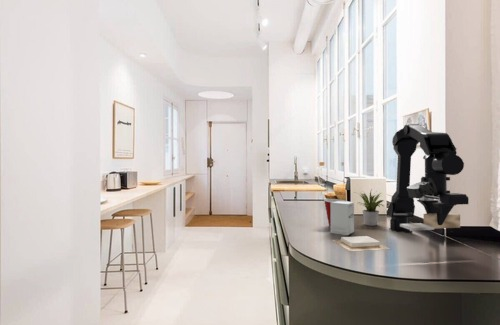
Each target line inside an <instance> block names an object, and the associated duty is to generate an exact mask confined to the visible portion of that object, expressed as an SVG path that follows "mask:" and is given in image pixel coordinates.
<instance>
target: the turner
mask: <svg viewBox="0 0 500 325" xmlns="http://www.w3.org/2000/svg"><path fill="white" fill-rule="evenodd" d="M400 227H403V228H406V229H409V230H411V231H412V232H413V231H432V230H433V231H434V230H435V229H454V228H458V229H459V228H461V214H460V213H456V212H455V213H454V212H449V214H448V215H447V217H446V219H445V221H444V222H443V224H442V225H438V222H437V213H434V214H427V213H423V223H421V222H419V223H418V222H414V223H413V222H412V223H409V224H400Z"/></svg>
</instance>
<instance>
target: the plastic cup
mask: <svg viewBox="0 0 500 325" xmlns="http://www.w3.org/2000/svg"><path fill="white" fill-rule="evenodd" d="M323 201H324V204H325V211H326V215H327V216H326V217H327V221H328V222H327V223H328V226H330V228H331V203H332V202H336V201H344V202H349V201H348V200H345V199H338V198H323Z"/></svg>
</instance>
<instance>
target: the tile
mask: <svg viewBox="0 0 500 325" xmlns="http://www.w3.org/2000/svg"><path fill="white" fill-rule="evenodd" d="M340 240H341V241H342V242H343V243H345V244H346V245H348V246H350V247H351V248H359V247H379V246H380V244H381V241H379V240H377V239H375V238H372V237H370V236H368V235H365V236H364V235H362V236H360V235H359V236H342V237H340Z"/></svg>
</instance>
